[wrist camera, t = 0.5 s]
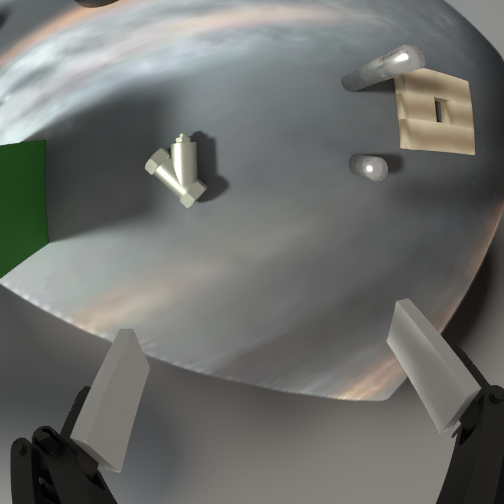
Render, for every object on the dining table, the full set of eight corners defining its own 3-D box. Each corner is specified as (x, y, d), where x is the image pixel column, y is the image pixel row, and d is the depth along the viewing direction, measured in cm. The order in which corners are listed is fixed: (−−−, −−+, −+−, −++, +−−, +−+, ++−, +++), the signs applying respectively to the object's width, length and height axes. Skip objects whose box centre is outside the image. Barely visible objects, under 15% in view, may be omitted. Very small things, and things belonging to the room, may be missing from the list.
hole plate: (391, 67, 29) (401, 63, 26) (457, 83, 29) (468, 81, 26) (400, 148, 34) (411, 149, 31) (463, 153, 34) (474, 155, 31)
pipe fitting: (183, 129, 33) (151, 166, 34) (176, 126, 29) (141, 168, 31) (226, 168, 35) (192, 204, 36) (224, 170, 31) (186, 210, 33)
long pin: (340, 74, 30) (400, 40, 15) (357, 75, 30) (422, 46, 15) (343, 91, 31) (405, 66, 16) (359, 92, 31) (427, 71, 16)
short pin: (348, 154, 34) (366, 157, 29) (367, 154, 34) (387, 157, 29) (349, 175, 36) (367, 181, 30) (367, 174, 36) (388, 180, 30)
